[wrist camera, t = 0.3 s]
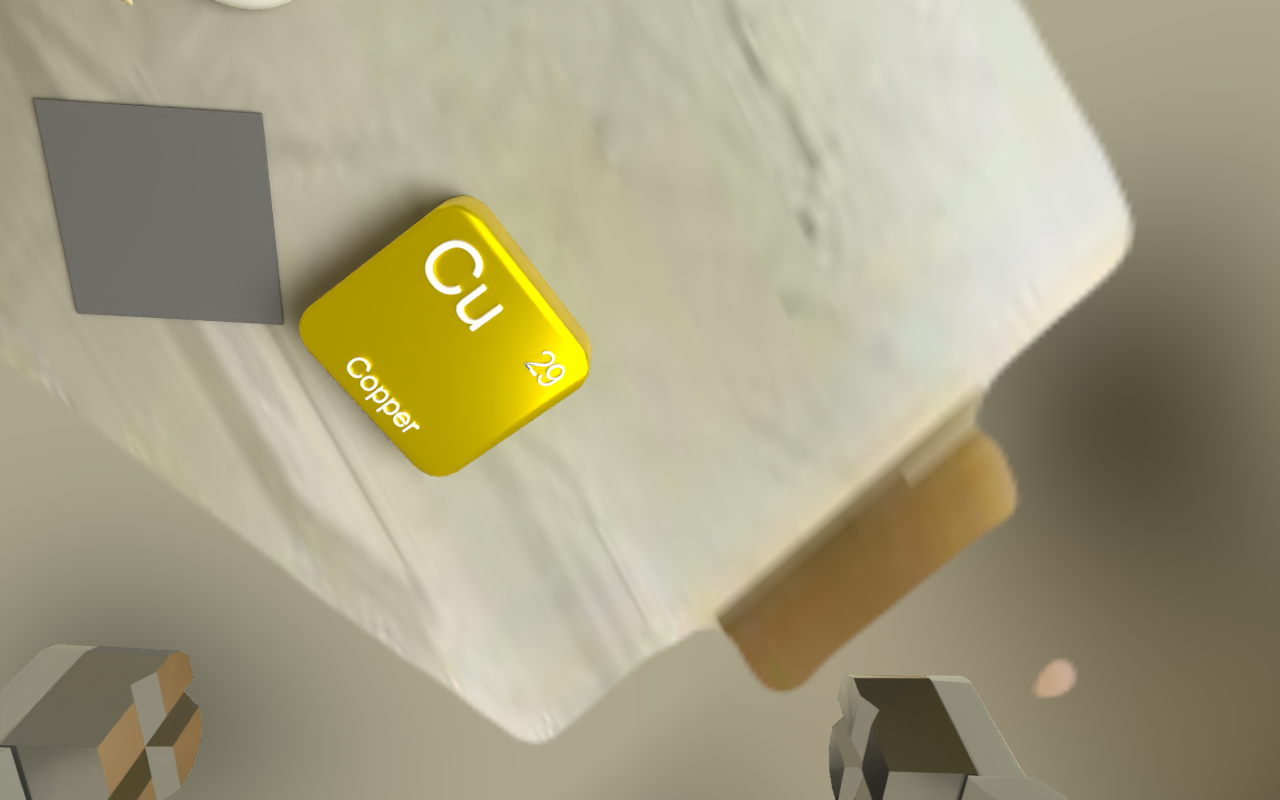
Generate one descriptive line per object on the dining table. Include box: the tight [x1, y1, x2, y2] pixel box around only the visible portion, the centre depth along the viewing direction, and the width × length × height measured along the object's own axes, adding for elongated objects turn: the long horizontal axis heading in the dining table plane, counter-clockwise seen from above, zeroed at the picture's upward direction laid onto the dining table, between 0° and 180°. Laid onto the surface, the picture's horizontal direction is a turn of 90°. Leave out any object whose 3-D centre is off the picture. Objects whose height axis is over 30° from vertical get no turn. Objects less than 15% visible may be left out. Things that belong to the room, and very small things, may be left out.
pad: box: [34, 99, 284, 325], centre depth 54 cm, size 14×14×1 cm
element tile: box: [299, 195, 592, 477], centre depth 56 cm, size 15×15×5 cm
